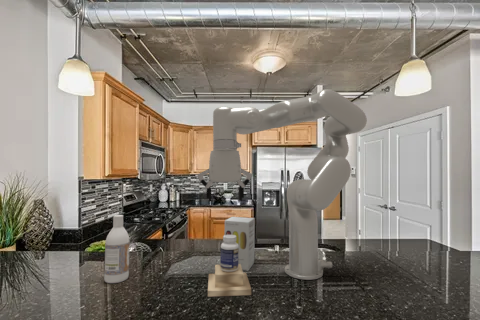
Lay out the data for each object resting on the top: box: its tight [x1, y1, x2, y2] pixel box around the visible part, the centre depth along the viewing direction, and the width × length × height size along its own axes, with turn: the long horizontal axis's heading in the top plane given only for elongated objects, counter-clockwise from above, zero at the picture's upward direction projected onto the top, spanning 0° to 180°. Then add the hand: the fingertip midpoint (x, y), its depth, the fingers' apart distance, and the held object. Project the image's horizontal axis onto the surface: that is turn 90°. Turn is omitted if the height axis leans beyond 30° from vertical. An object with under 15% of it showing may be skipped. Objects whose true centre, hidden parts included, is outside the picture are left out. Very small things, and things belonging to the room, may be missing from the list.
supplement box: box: [223, 216, 256, 272], centre depth 94 cm, size 10×9×17 cm
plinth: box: [207, 264, 252, 298], centre depth 76 cm, size 12×12×5 cm
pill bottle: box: [219, 234, 239, 272], centre depth 76 cm, size 5×5×10 cm
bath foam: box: [103, 214, 131, 284], centre depth 81 cm, size 7×7×20 cm
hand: (225, 200), depth 80 cm, fingers open, 9 cm apart
